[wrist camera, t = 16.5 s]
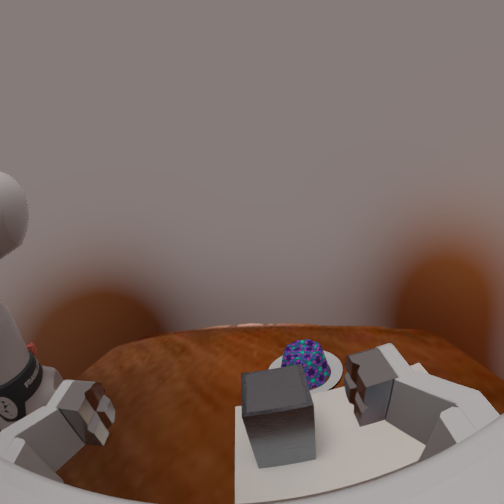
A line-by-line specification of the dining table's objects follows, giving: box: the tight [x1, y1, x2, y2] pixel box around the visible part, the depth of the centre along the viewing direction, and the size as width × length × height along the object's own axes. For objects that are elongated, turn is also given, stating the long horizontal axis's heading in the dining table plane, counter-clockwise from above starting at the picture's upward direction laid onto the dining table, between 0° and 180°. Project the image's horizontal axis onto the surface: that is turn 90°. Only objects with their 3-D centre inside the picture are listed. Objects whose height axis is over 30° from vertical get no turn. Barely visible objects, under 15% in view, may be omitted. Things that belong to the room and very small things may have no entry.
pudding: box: [268, 339, 343, 394], centre depth 41 cm, size 12×12×5 cm
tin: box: [241, 364, 316, 469], centre depth 27 cm, size 6×6×10 cm
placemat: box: [235, 363, 428, 504], centre depth 28 cm, size 28×16×1 cm, turn 92°
